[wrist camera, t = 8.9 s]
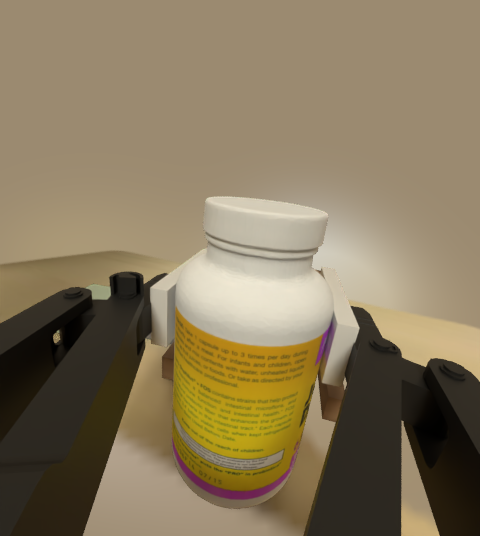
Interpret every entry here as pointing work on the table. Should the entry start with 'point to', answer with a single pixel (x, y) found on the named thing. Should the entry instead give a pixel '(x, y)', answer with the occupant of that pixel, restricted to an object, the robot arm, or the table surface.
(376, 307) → the table surface
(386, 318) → the table surface
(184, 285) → the supplement bottle
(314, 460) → the table surface
